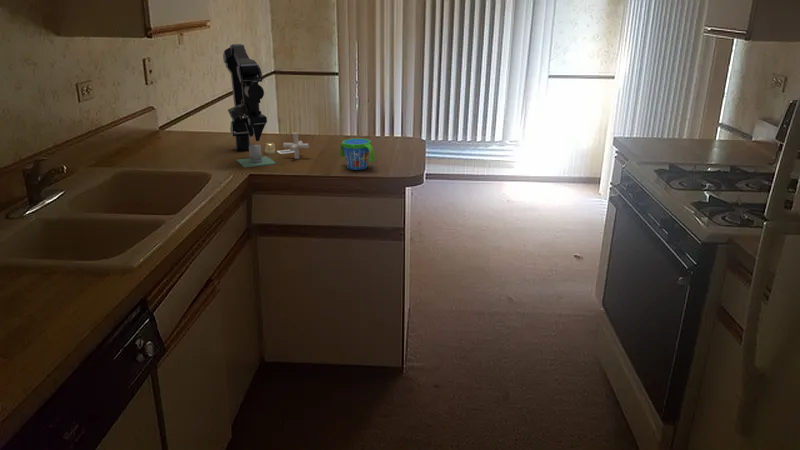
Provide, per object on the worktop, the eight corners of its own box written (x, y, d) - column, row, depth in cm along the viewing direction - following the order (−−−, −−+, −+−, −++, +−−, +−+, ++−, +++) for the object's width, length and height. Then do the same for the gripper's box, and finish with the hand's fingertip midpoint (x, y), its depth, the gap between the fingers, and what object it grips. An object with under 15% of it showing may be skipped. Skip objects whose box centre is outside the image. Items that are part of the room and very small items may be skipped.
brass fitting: (264, 152, 253) (263, 143, 251) (273, 151, 254) (273, 142, 253) (266, 155, 249) (266, 145, 248) (276, 153, 251) (275, 144, 250)
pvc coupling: (248, 160, 239) (247, 145, 237) (260, 159, 241) (259, 144, 239) (251, 163, 235) (249, 147, 233) (263, 162, 237) (262, 146, 235)
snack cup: (333, 166, 231) (331, 140, 228) (354, 162, 238) (354, 135, 235) (360, 175, 221) (359, 146, 217) (382, 169, 228) (381, 142, 224)
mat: (236, 160, 240) (236, 159, 240) (267, 157, 246) (267, 156, 245) (244, 167, 230) (244, 166, 230) (275, 164, 236) (275, 163, 235)
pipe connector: (304, 161, 238) (303, 136, 235) (280, 160, 240) (278, 135, 237) (313, 155, 248) (311, 130, 244) (289, 154, 250) (287, 129, 246)
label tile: (276, 151, 254) (276, 150, 254) (295, 149, 258) (295, 148, 258) (280, 154, 250) (280, 153, 250) (299, 152, 254) (299, 151, 254)
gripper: (223, 95, 234) (227, 136, 239) (234, 102, 218) (238, 145, 223) (252, 93, 238) (255, 133, 244) (265, 99, 223) (269, 142, 228)
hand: (254, 138), depth 235 cm, fingers open, 9 cm apart
